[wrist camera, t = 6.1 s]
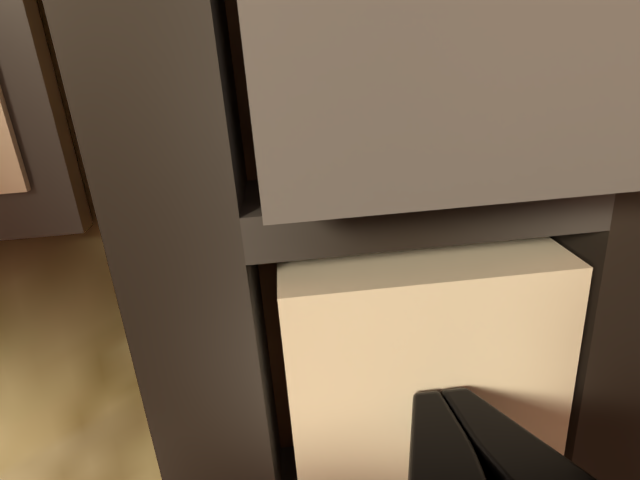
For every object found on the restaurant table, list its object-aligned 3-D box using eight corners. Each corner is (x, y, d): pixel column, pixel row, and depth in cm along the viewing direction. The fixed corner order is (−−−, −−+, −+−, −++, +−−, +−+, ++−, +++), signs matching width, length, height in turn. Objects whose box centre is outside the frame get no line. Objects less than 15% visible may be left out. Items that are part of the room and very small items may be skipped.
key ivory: (526, 221, 9) (592, 267, 7) (507, 418, 11) (557, 498, 9) (276, 244, 9) (277, 298, 7) (298, 442, 10) (303, 530, 8)
